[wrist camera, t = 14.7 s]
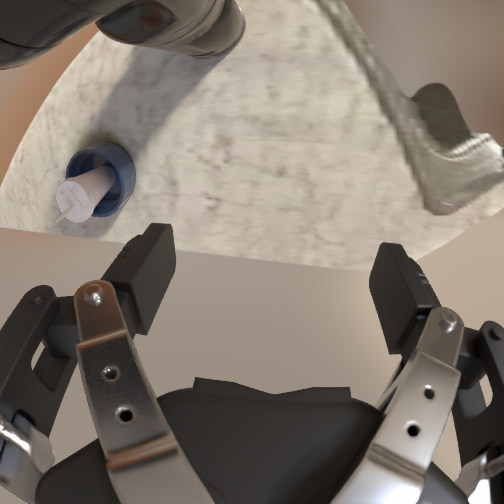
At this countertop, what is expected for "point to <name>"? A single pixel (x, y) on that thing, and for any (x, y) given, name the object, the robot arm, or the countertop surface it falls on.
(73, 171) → the bowl
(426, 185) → the countertop surface
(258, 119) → the countertop surface
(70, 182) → the smoothie
